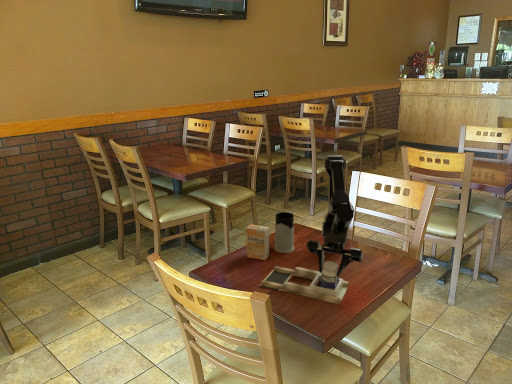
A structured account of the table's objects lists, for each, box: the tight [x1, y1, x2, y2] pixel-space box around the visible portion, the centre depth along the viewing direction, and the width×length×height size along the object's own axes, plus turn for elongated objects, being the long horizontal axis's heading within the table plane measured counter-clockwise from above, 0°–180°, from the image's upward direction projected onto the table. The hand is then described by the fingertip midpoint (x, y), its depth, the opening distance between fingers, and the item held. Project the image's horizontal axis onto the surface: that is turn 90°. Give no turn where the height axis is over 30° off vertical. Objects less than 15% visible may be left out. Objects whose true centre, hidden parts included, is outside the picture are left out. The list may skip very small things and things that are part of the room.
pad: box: [337, 286, 349, 301], centre depth 135 cm, size 8×10×1 cm
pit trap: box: [258, 269, 293, 292], centre depth 144 cm, size 8×14×1 cm, turn 154°
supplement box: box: [245, 223, 270, 261], centre depth 159 cm, size 8×5×13 cm, turn 68°
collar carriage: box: [308, 274, 344, 297], centre depth 136 cm, size 9×9×2 cm
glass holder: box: [273, 211, 295, 254], centre depth 169 cm, size 9×14×15 cm, turn 156°
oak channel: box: [260, 265, 350, 305], centre depth 139 cm, size 28×13×3 cm, turn 64°
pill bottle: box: [319, 260, 339, 290], centre depth 134 cm, size 6×6×10 cm
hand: (328, 274), depth 133 cm, fingers closed on pill bottle, 6 cm apart
